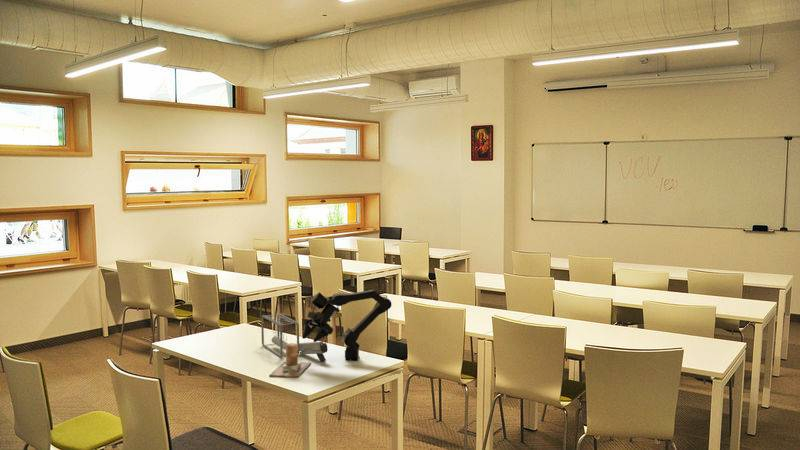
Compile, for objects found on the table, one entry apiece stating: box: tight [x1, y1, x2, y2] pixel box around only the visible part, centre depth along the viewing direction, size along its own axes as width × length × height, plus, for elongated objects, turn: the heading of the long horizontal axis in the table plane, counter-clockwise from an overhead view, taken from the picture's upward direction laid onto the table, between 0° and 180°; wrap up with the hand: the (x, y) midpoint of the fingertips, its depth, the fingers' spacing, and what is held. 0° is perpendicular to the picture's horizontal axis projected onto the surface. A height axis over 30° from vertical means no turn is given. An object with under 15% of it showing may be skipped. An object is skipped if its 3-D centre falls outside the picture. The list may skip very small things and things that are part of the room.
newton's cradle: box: [260, 313, 300, 358], centre depth 331 cm, size 30×10×18 cm, turn 32°
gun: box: [299, 340, 329, 363], centre depth 316 cm, size 2×25×10 cm, turn 44°
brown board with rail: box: [268, 361, 312, 379], centre depth 295 cm, size 14×22×3 cm, turn 172°
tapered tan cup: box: [285, 342, 299, 366], centre depth 294 cm, size 6×6×12 cm
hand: (308, 339), depth 300 cm, fingers open, 9 cm apart
